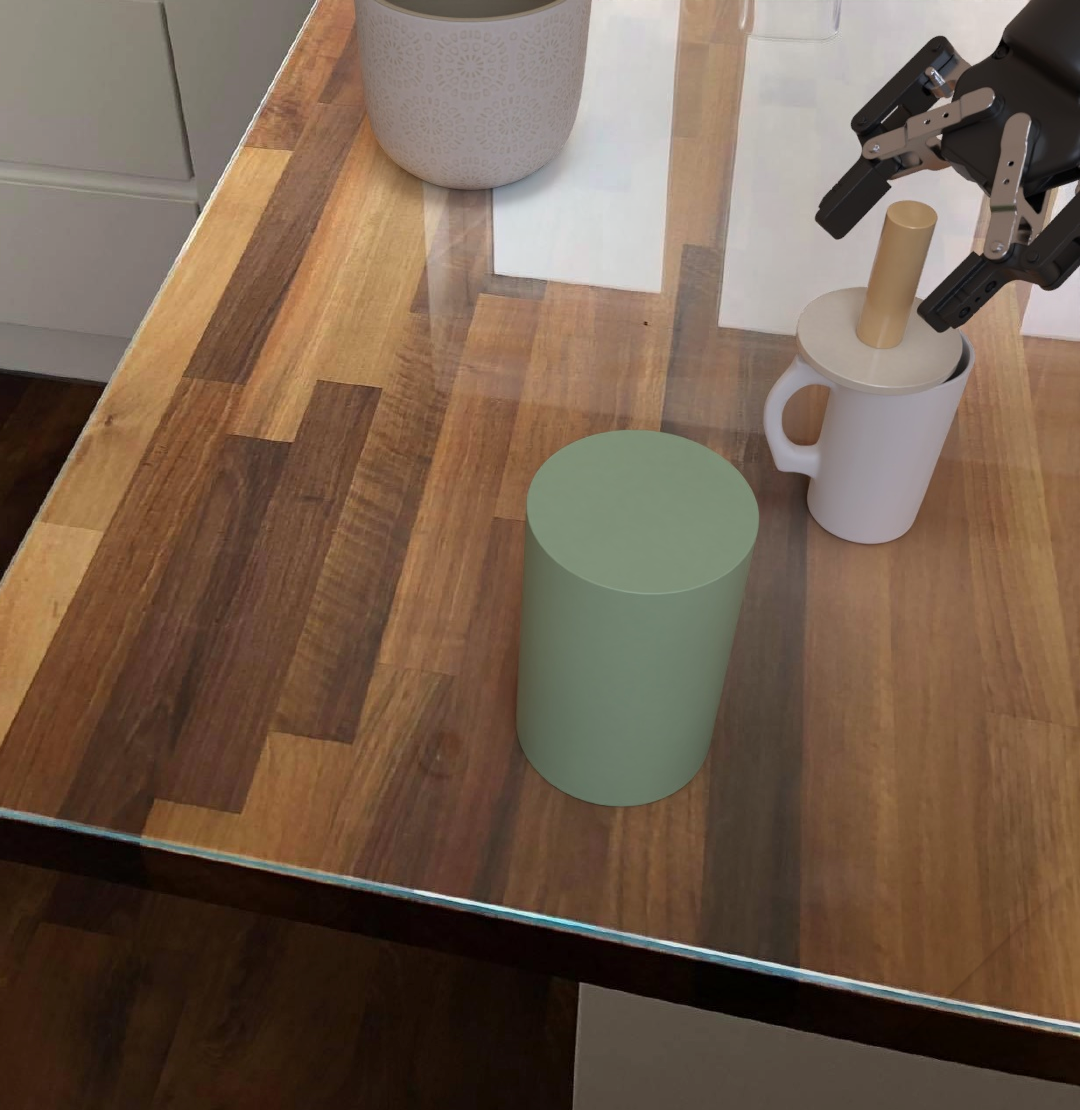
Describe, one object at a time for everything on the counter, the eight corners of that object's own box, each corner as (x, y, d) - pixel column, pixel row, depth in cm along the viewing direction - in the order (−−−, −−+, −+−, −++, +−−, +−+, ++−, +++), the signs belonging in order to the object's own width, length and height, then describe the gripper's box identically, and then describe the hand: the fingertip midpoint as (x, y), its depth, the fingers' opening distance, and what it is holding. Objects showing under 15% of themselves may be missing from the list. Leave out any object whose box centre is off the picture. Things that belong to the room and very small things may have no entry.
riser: (751, 733, 72) (808, 515, 60) (611, 843, 67) (643, 632, 56) (613, 619, 77) (640, 399, 65) (476, 714, 73) (478, 497, 61)
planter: (551, 88, 116) (561, -99, 105) (606, 202, 104) (623, 5, 93) (349, 112, 114) (336, -75, 103) (381, 230, 103) (371, 33, 92)
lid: (993, 348, 73) (1039, 217, 67) (891, 418, 70) (930, 287, 64) (864, 276, 78) (896, 148, 72) (762, 338, 74) (787, 209, 68)
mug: (913, 471, 84) (966, 311, 75) (926, 553, 80) (983, 392, 71) (743, 459, 85) (775, 300, 76) (746, 539, 81) (781, 379, 72)
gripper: (1005, -101, 66) (758, 171, 72) (1235, 29, 57) (933, 328, 63) (1060, -14, 71) (826, 233, 77) (1279, 117, 62) (996, 386, 68)
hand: (874, 275), depth 70 cm, fingers open, 8 cm apart
